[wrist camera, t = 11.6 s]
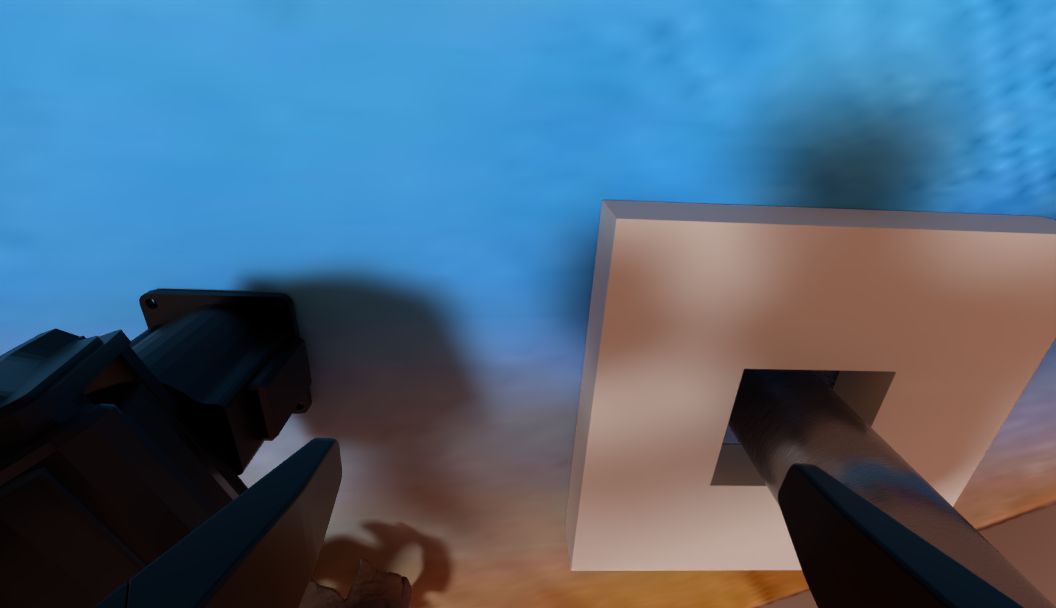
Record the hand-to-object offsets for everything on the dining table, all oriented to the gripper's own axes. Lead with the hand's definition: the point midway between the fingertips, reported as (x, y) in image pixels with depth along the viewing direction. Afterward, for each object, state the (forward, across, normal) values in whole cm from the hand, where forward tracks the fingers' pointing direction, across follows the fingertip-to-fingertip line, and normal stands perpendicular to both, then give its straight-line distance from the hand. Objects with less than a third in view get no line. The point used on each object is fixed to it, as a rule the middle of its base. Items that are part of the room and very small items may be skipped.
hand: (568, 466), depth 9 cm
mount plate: (+13, -13, +7) cm, 20 cm away
